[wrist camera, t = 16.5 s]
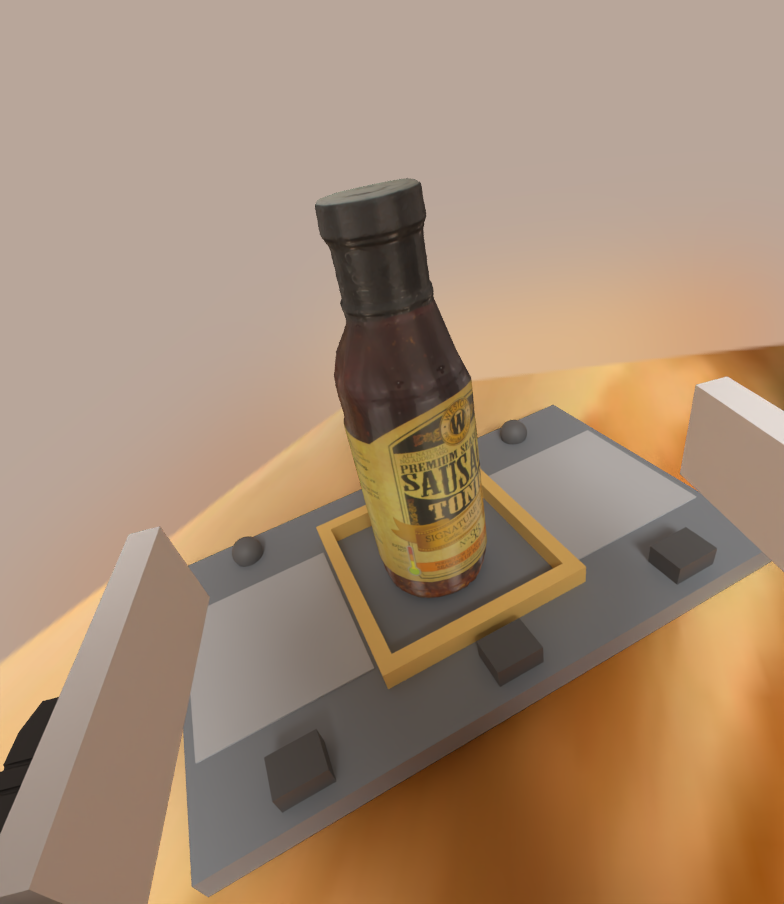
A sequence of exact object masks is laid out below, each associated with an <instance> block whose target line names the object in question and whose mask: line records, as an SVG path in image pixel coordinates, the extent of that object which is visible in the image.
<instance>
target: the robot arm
mask: <svg viewBox="0 0 784 904" xmlns="http://www.w3.org/2000/svg"><path fill="white" fill-rule="evenodd" d="M680 474H681V475H682V476H683V477H684V478H685V479H686V480H687V481H688V482H689V483H690V484H691V485H692V486H693V487H695V488H696V489H697V490H698V491H699V492H700V493H701V494H702V495H703V496H704V497H705V498H706V499H707V500H708V501H709V502H710V503H711V504H712V505H714V506H715V507H716V508H717V509H718V510H719V511H720V512H721V513H722V514H723V515H724V516H725V517H726V518H727V519H728V520H729V521H730V522H732V523H733V524H734V525H735V526H736V527H737V528H738V529H739V530H740V531H741V532H742V533H743V534H744V535H745V536H746V537H747V538H748V539H749V540H751V541H752V542H753V543H754V544H755V545H756V546H757V547H758V548H759V549H760V550H761V551H762V552H763V553H764V554H765V555H766V556H767V557H768V558H770V559H771V560H772V561H773V562H774V563H775V564H776V565H777V566H778V567H779V568H780V569H781V570H782V571H783V572H784V411H783V410H781V409H780V408H778V407H776V406H775V405H773V404H771V403H770V402H768V401H766V400H765V399H763V398H762V397H760V396H758V395H757V394H755V393H753V392H752V391H750V390H748V389H747V388H745V387H743V386H742V385H740V384H739V383H737V382H735V381H734V380H732V379H730V378H729V377H724V378H720V379H716V380H712V381H709V382H705V383H701V384H697V385H696V387H695V392H694V398H693V404H692V409H691V415H690V420H689V426H688V432H687V437H686V443H685V449H684V454H683V460H682V465H681V471H680ZM209 599H210V597H209V596H208V594H207V593H206V591H205V590H204V588H203V587H202V586H201V584H200V583H199V581H198V580H197V578H196V577H195V576H194V574H193V573H192V571H191V570H190V568H189V567H188V566H187V564H186V563H185V561H184V560H183V558H182V557H181V556H180V554H179V553H178V551H177V550H176V548H175V547H174V546H173V544H172V543H171V541H170V540H169V538H168V537H167V536H166V534H165V533H164V532H163V530H162V528H161V527H160V526H159V527H155V528H151V529H147V530H143V531H140V532H136V533H132V534H129V535H128V538H127V540H126V542H125V545H124V547H123V549H122V551H121V554H120V556H119V559H118V561H117V563H116V566H115V568H114V570H113V572H112V575H111V577H110V579H109V582H108V584H107V586H106V589H105V591H104V593H103V596H102V598H101V600H100V603H99V605H98V607H97V610H96V612H95V614H94V617H93V619H92V621H91V624H90V626H89V628H88V631H87V633H86V635H85V638H84V640H83V642H82V645H81V647H80V649H79V652H78V654H77V656H76V659H75V661H74V663H73V666H72V668H71V670H70V673H69V675H68V677H67V680H66V682H65V684H64V687H63V689H62V691H61V694H60V696H59V697H57V698H53V699H49V700H46V701H42V703H41V704H40V705H39V707H38V708H37V709H36V711H35V712H34V713H33V714H32V716H31V717H30V718H29V720H28V721H27V722H26V724H25V725H24V726H23V727H22V729H21V730H20V731H19V733H18V735H17V737H16V739H15V742H14V744H13V746H12V748H11V750H10V752H9V754H8V756H7V759H6V761H5V763H4V770H3V771H2V772H0V904H148V899H149V894H150V889H151V884H152V879H153V875H154V870H155V865H156V860H157V855H158V850H159V845H160V840H161V835H162V830H163V825H164V820H165V815H166V810H167V806H168V801H169V796H170V791H171V786H172V781H173V776H174V771H175V766H176V761H177V756H178V751H179V746H180V742H181V737H182V732H183V727H184V722H185V717H186V712H187V707H188V702H189V697H190V692H191V687H192V682H193V677H194V673H195V668H196V663H197V658H198V653H199V648H200V643H201V638H202V633H203V628H204V623H205V618H206V613H207V608H208V604H209Z"/></svg>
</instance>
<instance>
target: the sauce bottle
mask: <svg viewBox="0 0 784 904" xmlns="http://www.w3.org/2000/svg"><path fill="white" fill-rule="evenodd" d="M315 210H316V215H317V220H318V227H319V231H320V235H321V237H322V239H323V240H324V241H325V242H326V244H327V245H328V246H329V248H330V251H331V255H332V259H333V264H334V267H335V271H336V277H337V281H338V284H339V288H340V293H341V297H342V299H341V303H340V304H341V307H342V310H343V312H344V315H345V318H346V326H345V329H344V333H343V334H342V337H341V340H340V342H339V346H338V348H337V351H336V361H335V372H334V378H335V383H336V388H337V393H338V397H339V400H340V402H341V406H342V409H343V412H344V426H345V430H346V434H347V437H348V441H349V444H350V448H351V452H352V455H353V459H354V462H355V466H356V470H357V473H358V477H359V480H360V484H361V488H362V492H363V495H364V499H365V503H366V507H367V511H368V514H369V518H370V521H371V525H372V528H373V532H374V536H375V540H376V543H377V547H378V550H379V554H380V556H381V559H382V560H383V562H384V566H385V569H386V571H387V572H388V574H389V576H390V577H391V579H392V580H393V582H394V583H395V584H396V586H397V587H399V588H400V589H401V590H403V591H405V592H407V593H409V594H411V595H414V596H417V597H422V598H425V597H426V598H435V597H437V598H438V597H442V596H445V595H449V594H453V593H454V592H457V591H459V590H461V589H462V588H465V587H467V586H468V585H469V583H470V582H473V581H474V580H475V579H476V577H477V575H478V573H479V572H480V569H481V566H482V564H483V561H484V555H485V552H486V543H487V535H486V523H485V512H484V502H483V492H482V483H481V473H480V461H479V451H478V439H477V430H476V421H475V413H474V402H473V391H472V382H471V377H470V375H469V373H468V371H467V369H466V367H465V365H464V364H463V362H462V360H461V358H460V356H459V355H458V352H457V350H456V348H455V346H454V344H453V341H452V339H451V337H450V335H449V332H448V330H447V327H446V325H445V323H444V321H443V318H442V316H441V314H440V311H439V309H438V307H437V304H436V302H435V300H434V297H433V287H432V283H431V281H430V280H429V271H428V266H427V256H426V251H425V243H424V235H423V227H424V221H425V218H426V210H425V204H424V201H423V195H422V186H421V183H420V182H418V181H417V180H415V179H408V178H406V179H399V180H393V181H388V182H383V183H378V184H372V185H368V186H363V187H359V188H355V189H351V190H346V191H342V192H338V193H334V194H332V195H329V196H327V197H324V198H321V199H319V200H318V201H317V202H316V204H315Z"/></svg>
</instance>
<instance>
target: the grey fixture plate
mask: <svg viewBox="0 0 784 904" xmlns="http://www.w3.org/2000/svg"><path fill="white" fill-rule="evenodd" d="M477 439H478V451H479V461H480V473H481V483H482V492H483V502H484V512H485V523H486V535H487V543H486V552H485V555H484V561H483V564H482V566H481V569H480V572H479V573H478V575H477V577H476V579H475V580H474V581H473V582H470V583H469V585H468V586H467V587H465V588H462V589H461V590H459V591H457V592H454V593H453V594H449V595H445V596H442V597H438V598H437V597H435V598H426V597H425V598H422V597H417V596H414V595H411V594H409V593H407V592H405V591H403V590H401V589H400V588H399V587H397V586H396V584H395V583H394V582H393V580H392V579H391V577H390V576H389V574H388V572H387V571H386V569H385V566H384V562H383V560H382V559H381V556H380V554H379V550H378V547H377V543H376V540H375V536H374V532H373V528H372V525H371V521H370V518H369V514H368V511H367V507H366V503H365V499H364V495H363V492H362V489H361V490H359V491H356V492H354V493H352V494H350V495H347V496H345V497H343V498H341V499H338V500H336V501H334V502H331V503H329V504H327V505H325V506H322V507H320V508H318V509H316V510H313V511H311V512H309V513H307V514H304V515H302V516H300V517H297V518H295V519H293V520H291V521H288V522H286V523H284V524H282V525H279V526H277V527H275V528H273V529H270V530H268V531H266V532H263V533H261V534H259V535H257V536H254V537H243V538H241V539H239V540H238V541H237V542H236V543H235V544H234V546H232V547H229V548H227V549H225V550H223V551H220V552H218V553H216V554H214V555H211V556H209V557H207V558H204V559H202V560H200V561H198V562H195V563H193V564H191V565H189V566H188V567H189V568H190V570H191V571H192V573H193V574H194V576H195V577H196V578H197V580H198V581H199V583H200V584H201V586H202V587H203V588H204V590H205V591H206V593H207V594H208V596H209V597H210V599H209V604H208V608H207V613H206V618H205V623H204V628H203V633H202V638H201V643H200V648H199V653H198V658H197V663H196V668H195V673H194V677H193V682H192V687H191V692H190V697H189V702H188V707H187V712H186V717H185V722H184V727H183V733H184V752H185V770H186V789H187V807H188V825H189V844H190V862H191V881H192V887H193V888H195V889H196V890H198V891H199V892H201V893H203V894H204V895H206V896H207V897H209V896H211V895H213V894H214V893H216V892H218V891H220V890H221V889H223V888H225V887H226V886H228V885H230V884H231V883H233V882H235V881H236V880H238V879H240V878H241V877H243V876H245V875H246V874H248V873H250V872H251V871H253V870H255V869H256V868H258V867H260V866H261V865H263V864H265V863H266V862H268V861H270V860H272V859H273V858H275V857H277V856H278V855H280V854H282V853H283V852H285V851H287V850H288V849H290V848H292V847H293V846H295V845H297V844H298V843H300V842H302V841H303V840H305V839H307V838H308V837H310V836H312V835H313V834H315V833H317V832H318V831H320V830H322V829H323V828H325V827H327V826H329V825H330V824H332V823H334V822H335V821H337V820H339V819H340V818H342V817H344V816H345V815H347V814H349V813H350V812H352V811H354V810H355V809H357V808H359V807H360V806H362V805H364V804H365V803H367V802H369V801H370V800H372V799H374V798H375V797H377V796H379V795H380V794H382V793H384V792H386V791H387V790H389V789H391V788H392V787H394V786H396V785H397V784H399V783H401V782H402V781H404V780H406V779H407V778H409V777H411V776H412V775H414V774H416V773H417V772H419V771H421V770H422V769H424V768H426V767H427V766H429V765H431V764H432V763H434V762H436V761H437V760H439V759H441V758H443V757H444V756H446V755H448V754H449V753H451V752H453V751H454V750H456V749H458V748H459V747H461V746H463V745H464V744H466V743H468V742H469V741H471V740H473V739H474V738H476V737H478V736H479V735H481V734H483V733H484V732H486V731H488V730H489V729H491V728H493V727H495V726H496V725H498V724H500V723H501V722H503V721H505V720H506V719H508V718H510V717H511V716H513V715H515V714H516V713H518V712H520V711H521V710H523V709H525V708H526V707H528V706H530V705H531V704H533V703H535V702H536V701H538V700H540V699H541V698H543V697H545V696H546V695H548V694H550V693H552V692H553V691H555V690H557V689H558V688H560V687H562V686H563V685H565V684H567V683H568V682H570V681H572V680H573V679H575V678H577V677H578V676H580V675H582V674H583V673H585V672H587V671H588V670H590V669H592V668H593V667H595V666H597V665H598V664H600V663H602V662H603V661H605V660H607V659H609V658H610V657H612V656H614V655H615V654H617V653H619V652H620V651H622V650H624V649H625V648H627V647H629V646H630V645H632V644H634V643H635V642H637V641H639V640H640V639H642V638H644V637H645V636H647V635H649V634H650V633H652V632H654V631H655V630H657V629H659V628H660V627H662V626H664V625H666V624H667V623H669V622H671V621H672V620H674V619H676V618H677V617H679V616H681V615H682V614H684V613H686V612H687V611H689V610H691V609H692V608H694V607H696V606H697V605H699V604H701V603H702V602H704V601H706V600H707V599H709V598H711V597H712V596H714V595H716V594H717V593H719V592H721V591H723V590H724V589H726V588H728V587H729V586H731V585H733V584H734V583H736V582H738V581H739V580H741V579H743V578H744V577H746V576H748V575H749V574H751V573H753V572H754V571H756V570H758V569H759V568H761V567H763V566H764V565H766V564H768V563H769V562H771V561H772V560H771V559H770V558H768V557H767V556H766V555H765V554H764V553H763V552H762V551H761V550H760V549H759V548H758V547H757V546H756V545H755V544H754V543H753V542H752V541H751V540H749V539H748V538H747V537H746V536H745V535H744V534H743V533H742V532H741V531H740V530H739V529H738V528H737V527H736V526H735V525H734V524H733V523H732V522H730V521H729V520H728V519H727V518H726V517H725V516H724V515H723V514H722V513H721V512H720V511H719V510H718V509H717V508H716V507H715V506H714V505H712V504H711V503H710V502H709V501H708V500H707V499H706V498H705V497H704V496H703V495H702V494H701V493H700V492H698V491H696V490H695V489H693V488H691V487H690V486H688V485H686V484H685V483H683V482H681V481H680V480H678V479H676V478H675V477H673V476H671V475H670V474H668V473H666V472H665V471H663V470H661V469H660V468H658V467H656V466H655V465H653V464H651V463H650V462H648V461H646V460H645V459H643V458H641V457H640V456H638V455H636V454H635V453H633V452H631V451H630V450H628V449H626V448H625V447H623V446H621V445H620V444H618V443H616V442H615V441H613V440H611V439H610V438H608V437H606V436H605V435H603V434H601V433H600V432H598V431H596V430H594V429H593V428H591V427H589V426H588V425H586V424H584V423H583V422H581V421H579V420H578V419H576V418H574V417H573V416H571V415H569V414H568V413H566V412H564V411H563V410H561V409H559V408H558V407H556V406H554V405H551V406H549V407H547V408H545V409H542V410H540V411H538V412H536V413H533V414H531V415H529V416H527V417H524V418H522V419H520V420H510V421H507V422H506V423H504V424H503V426H502V427H501V428H499V429H497V430H495V431H493V432H490V433H488V434H486V435H483V436H481V437H479V438H477Z"/></svg>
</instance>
